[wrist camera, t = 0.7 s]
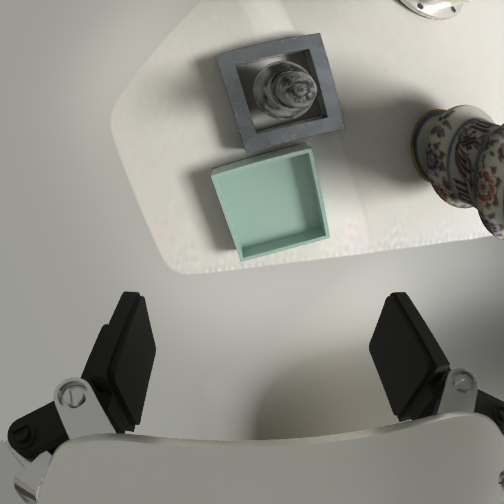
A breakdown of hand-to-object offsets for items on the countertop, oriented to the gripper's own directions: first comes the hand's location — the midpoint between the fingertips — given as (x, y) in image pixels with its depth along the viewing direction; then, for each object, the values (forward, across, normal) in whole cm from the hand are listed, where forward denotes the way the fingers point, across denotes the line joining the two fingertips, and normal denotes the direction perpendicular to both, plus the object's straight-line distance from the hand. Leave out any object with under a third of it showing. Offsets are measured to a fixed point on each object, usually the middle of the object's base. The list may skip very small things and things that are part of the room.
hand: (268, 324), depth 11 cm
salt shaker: (+25, -3, -8) cm, 26 cm away
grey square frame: (+25, -3, -8) cm, 26 cm away
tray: (+24, -3, +4) cm, 25 cm away
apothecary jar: (+25, -24, -5) cm, 35 cm away
